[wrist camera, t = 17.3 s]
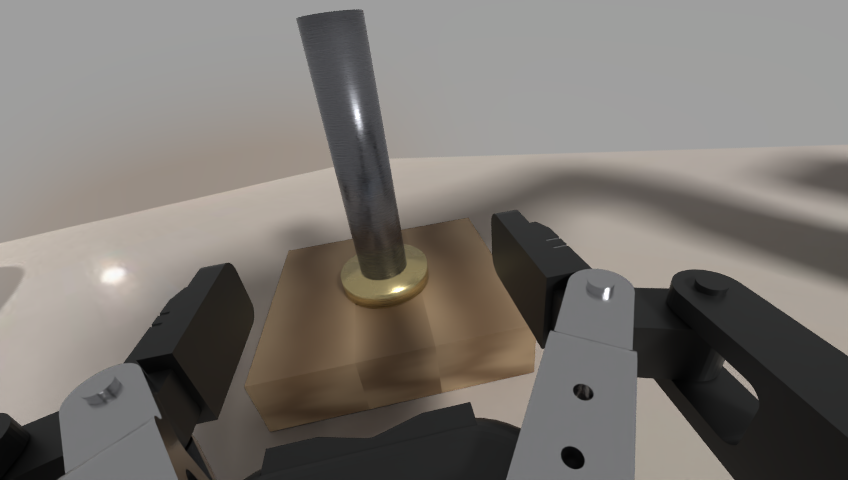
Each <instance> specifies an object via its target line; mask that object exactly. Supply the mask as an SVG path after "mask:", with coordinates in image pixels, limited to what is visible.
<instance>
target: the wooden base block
mask: <svg viewBox="0 0 848 480" xmlns="http://www.w3.org/2000/svg"><path fill="white" fill-rule="evenodd" d="M401 232H402V238H403V244H406V245H410V246H413V247H416V248H418V249H419V250H421V251H422V252H423V253H424V255H425V256H426V259H427V265H428V273H429V280H428V283H427V285H426V287H425V288H424V290H423V291H422V292H421V293H420V294H418V295H417V296H416V297H414V298H413V299H411V300H410V301H408V302H405V303H403V304H401V305H398V306H394V307H390V308H383V309H371V308H364V307H361V306H358V305H356V304H354V303H352V302H351V301H350V300H349V299H348V298H347V296H346V294H345V290H344V287H343V284H342V280H341V271H342V268H343V266H344V265H345V264H346V262H347V261H348V260H349V259H351V258H352V257H353V256H355V255H356V250H355V246H354V242H353V239H350V240H345V241H339V242H334V243H328V244H323V245H318V246H312V247H307V248H301V249H296V250H290V251H289V252H288V255H287V258H286V261H285V264H284V267H283V270H282V273H281V276H280V279H279V282H278V285H277V288H276V291H275V294H274V297H273V301H272V304H271V307H270V310H269V313H268V316H267V319H266V322H265V325H264V328H263V331H262V334H261V337H260V340H259V343H258V346H257V349H256V353H255V356H254V359H253V362H252V365H251V368H250V371H249V374H248V377H247V380H246V383H245V386H244V387H245V389H246V391H247V393H248V394H249V396H250V398H251V399H252V401H253V403H254V405H255V406H256V408H257V410H258V412H259V413H260V415H261V417H262V419H263V420H264V422H265V424H266V426H267V427H268V429H269V431H270V432H272V431H276V430H280V429H285V428H289V427H294V426H298V425H302V424H307V423H311V422H316V421H320V420H325V419H329V418H333V417H338V416H342V415H347V414H351V413H355V412H360V411H364V410H369V409H373V408H377V407H382V406H386V405H391V404H395V403H400V402H404V401H408V400H413V399H417V398H422V397H426V396H430V395H435V394H439V393H444V392H448V391H453V390H457V389H461V388H466V387H470V386H475V385H479V384H483V383H488V382H492V381H497V380H501V379H505V378H510V377H514V376H519V375H523V374H528V373H532V372H534V362H535V344H536V338H535V337H534V335H533V333H532V332H531V330H530V328H529V327H528V325H527V323H526V322H525V320H524V318H523V317H522V315H521V313H520V312H519V310H518V309H517V307H516V305H515V304H514V302H513V300H512V299H511V297H510V295H509V294H508V292H507V290H506V289H505V287H504V285H503V284H502V282H501V280H500V279H499V277H498V275H497V273H496V271H495V268H494V264H493V258H492V254H491V252H490V251H489V249H488V248H487V246H486V244H485V243H484V241H483V240H482V238H481V237H480V235H479V233H478V232H477V230H476V229H475V227H474V226H473V224H472V223H471V221H470V219H469V218H464V219H458V220H453V221H447V222H442V223H437V224H431V225H426V226H420V227H415V228H409V229H404V230H401Z"/></svg>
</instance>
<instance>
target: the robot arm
mask: <svg viewBox="0 0 848 480" xmlns="http://www.w3.org/2000/svg"><path fill="white" fill-rule="evenodd" d="M491 226H492V258H493V264H494V268H495V271H496V273H497V275H498V277H499V279H500V280H501V282H502V284H503V285H504V287H505V289H506V290H507V292H508V294H509V295H510V297H511V299H512V300H513V302H514V304H515V305H516V307H517V309H518V310H519V312H520V313H521V315H522V317H523V318H524V320H525V322H526V323H527V325H528V327H529V328H530V330H531V332H532V333H533V335H534V337H535V338H536V340H537V342H538V343H539V345H540V347H541V348H542V349H544V348H545V349H544V352H543V356H542V359H541V362H540V366H539V369H538V373H537V376H536V379H535V383H534V386H533V390H532V393H531V397H530V400H529V403H528V407H527V410H526V414H525V417H524V420H523V424H522V427H521V428H518V427H516V426H513V425H511V424H508V423H505V422H501V421H498V420H493V419H486V418H475V416H474V412H473V409H472V406H471V403H470V402H468V403H464V404H460V405H455V406H451V407H447V408H442V409H438V410H434V411H429V412H425V413H421V414H419V415H417V416H415V417H413V418H411V419H409V420H407V421H405V422H403V423H401V424H399V425H397V426H395V427H393V428H391V429H389V430H387V431H385V432H383V433H381V434H379V435H377V436H375V437H372V438H334V437H316V438H312V439H308V440H303V441H299V442H294V443H290V444H286V445H281V446H277V447H273V448H268V449H266V452H265V456H264V461H263V465H262V469H261V470H259V471H257V472H255V473H253V474H252V475H250V476H248V477H247V478H245V479H244V480H634V476H635V436H636V396H637V377H639V378H654V380H655V381H656V382H657V383H658V385H659V386H660V387H661V388H662V390H663V391H664V392H665V393H666V395H667V396H668V397H669V398H670V400H671V401H672V402H673V403H674V405H675V406H676V407H677V408H678V410H679V411H680V412H681V413H682V415H683V416H684V417H685V418H686V420H687V421H688V422H689V423H690V425H691V426H692V427H693V428H694V430H695V431H696V432H697V433H698V435H699V436H700V437H701V438H702V440H703V441H704V442H705V443H706V445H707V446H708V447H709V448H710V450H711V451H712V452H713V453H714V455H715V456H716V457H717V458H718V460H719V461H720V462H721V463H722V465H723V466H724V467H725V468H726V470H727V471H728V472H729V473H730V475H731V476H732V477H733V478H734V480H848V356H847V355H845V354H844V353H843V352H841V351H840V350H838V349H837V348H835V347H834V346H832V345H831V344H829V343H828V342H826V341H825V340H823V339H822V338H820V337H819V336H818V335H816V334H815V333H813V332H812V331H810V330H809V329H807V328H806V327H804V326H803V325H801V324H800V323H798V322H797V321H796V320H794V319H793V318H791V317H790V316H788V315H787V314H785V313H784V312H782V311H781V310H779V309H778V308H776V307H775V306H773V305H772V304H771V303H769V302H768V301H766V300H765V299H763V298H762V297H760V296H759V295H757V294H756V293H754V292H753V291H751V290H750V289H748V288H747V287H746V286H744V285H743V284H741V283H740V282H738V281H736V280H734V279H732V278H730V277H728V276H725V275H723V274H719V273H716V272H712V271H706V270H685V271H681V272H678V273H677V274H675V275H674V276H673V278H672V281H671V285H670V288H669V289H663V288H634V287H633V285H632V284H631V283H630V282H629V281H628V280H627V279H626V278H624V277H623V276H621V275H619V274H617V273H614V272H611V271H607V270H602V269H592V268H591V267H590V266H589V265H588V264H587V263H586V262H585V261H583V260H582V259H581V258H580V257H579V256H578V255H577V254H576V253H575V252H574V251H573V250H572V249H571V248H570V247H569V246H567V245H566V243H565V242H564V241H563V240H562V239H559V236H558V235H556V234H555V233H554V232H553V231H552V230H551V229H550V228H549V227H546V226H544V225H542V224H540V223H537V222H532V223H529V222H528V221H527V220H526V219H525V218H524V217H523V215H522V214H521V213H520V212H519V211H518V210H513V211H507V212H502V213H497V214H493V215H492V220H491ZM253 322H254V310H253V305H252V303H251V300H250V298H249V296H248V294H247V292H246V290H245V288H244V286H243V284H242V281H241V279H240V277H239V275H238V273H237V271H236V269H235V267H234V266H233V265H232V264H230V263H225V264H219V265H214V266H208V267H203V268H201V269H200V270H199V271H198V272H197V274H196V275H195V277H194V278H193V279H192V281H191V282H190V284H189V285H188V287H186V288H184V289H183V290H182V291H180V292H179V293H178V294H177V295H175V296H174V297H173V298H172V299H170V300H169V302H168V303H167V304H166V306H165V307H164V308H163V310H162V311H161V313H160V316H158V317H157V318H156V319H155V321H154V322H153V324H152V327H150V328H149V329H148V330H147V332H146V333H145V335H144V336H143V337H142V339H141V340H140V341H139V343H138V344H137V346H136V347H135V348H134V350H133V351H132V352H131V354H130V355H129V356H128V358H127V359H126V361H125V362H124V363H123V364H119V365H116V366H113V367H110V368H107V369H105V370H103V371H101V372H99V373H97V374H95V375H94V376H92V377H90V378H89V379H87V380H86V381H84V382H83V383H82V384H80V385H79V386H78V387H77V388H76V389H74V390H73V391H72V392H71V393H70V394H69V395H68V397H67V398H66V399H65V400H64V402H63V403H62V405H61V407H60V410H59V411H58V412H55V413H53V414H50V415H48V416H46V417H43V418H41V419H38V420H36V421H34V422H31V423H29V424H26V425H24V426H21V425H20V424H19V423H17V422H16V421H15V420H14V419H13V418H12V417H10V416H9V415H8V414H5V413H0V480H216V478H215V476H214V474H213V472H212V470H211V468H210V466H209V464H208V462H207V459H206V457H205V455H204V453H203V451H202V449H201V447H200V445H199V443H198V441H197V440H196V438H195V437H194V436H193V435H192V433H193V430H194V428H195V426H196V424H199V423H203V422H208V421H213V420H217V419H218V417H219V414H220V411H221V408H222V406H223V403H224V400H225V398H226V395H227V392H228V390H229V387H230V384H231V382H232V379H233V376H234V373H235V371H236V368H237V365H238V363H239V360H240V357H241V355H242V352H243V349H244V347H245V344H246V341H247V338H248V336H249V333H250V330H251V328H252V325H253ZM725 360H726V361H727V362H728V363H729V364H730V365H732V366H733V367H734V368H735V369H736V370H737V371H738V372H739V373H740V374H741V375H742V376H743V377H744V378H745V379H746V380H747V381H748V382H749V383H750V384H751V385H752V387H753V388H754V390H755V392H756V393H757V396H758V399H759V400H758V399H756V398H755V397H754V396H753V395H752V394H751V393H750V392H749V391H748V390H747V389H746V388H745V387H744V386H743V385H742V384H741V383H740V382H739V381H738V380H737V379H736V378H735V377H734V376H733V375H731V374H730V373H729V372H728V371H727V370H726V369H725V368H724V367H723V363H724V361H725Z"/></svg>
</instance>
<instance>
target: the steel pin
mask: <svg viewBox="0 0 848 480" xmlns="http://www.w3.org/2000/svg"><path fill="white" fill-rule="evenodd" d="M297 23H298V27H299V31H300V35H301V39H302V43H303V47H304V51H305V55H306V59H307V62H308V66H309V70H310V74H311V78H312V82H313V86H314V90H315V93H316V98H317V102H318V105H319V109H320V113H321V117H322V121H323V125H324V129H325V133H326V137H327V141H328V144H329V148H330V152H331V156H332V160H333V164H334V168H335V172H336V176H337V180H338V184H339V188H340V192H341V195H342V199H343V203H344V207H345V211H346V215H347V219H348V223H349V227H350V231H351V235H352V238H353V242H354V246H355V250H356V255H355V256H353V257H352V258H351V259H349V260H348V261H347V262H346V264H345V265H344V266H343V268H342V271H341V280H342V284H343V287H344V290H345V294H346V296H347V298H348V299H349V300H350V301H351V302H352V303H354V304H356V305H358V306H361V307H364V308H371V309H383V308H390V307H394V306H398V305H401V304H403V303H405V302H408V301H410V300H411V299H413V298H414V297H416V296H417V295H418V294H420V293H421V292H422V291H423V290H424V288H425V287H426V285H427V283H428V280H429V273H428V265H427V259H426V256H425V255H424V253H423V252H422V251H421V250H419V249H418V248H416V247H413V246H410V245H406V244H403V238H402V232H401V227H400V221H399V215H398V209H397V203H396V198H395V192H394V186H393V180H392V175H391V169H390V163H389V157H388V151H387V146H386V140H385V134H384V128H383V123H382V117H381V111H380V106H379V100H378V94H377V88H376V82H375V76H374V71H373V65H372V59H371V53H370V48H369V42H368V37H367V30H366V25H365V19H364V13H363V10H343V11H333V12H325V13H318V14H312V15H307V16H302V17H299V18H297Z"/></svg>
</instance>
